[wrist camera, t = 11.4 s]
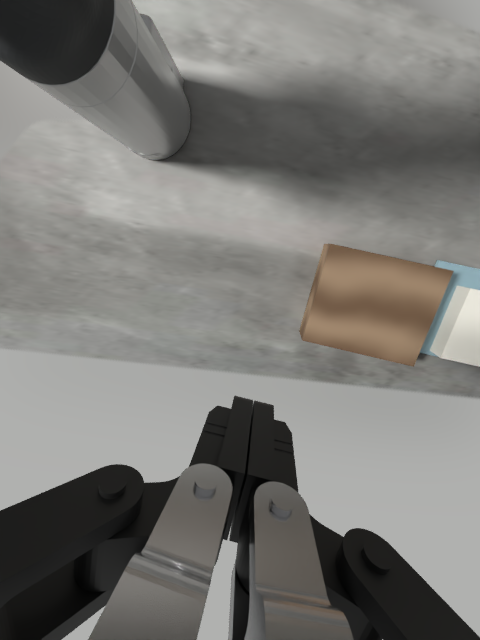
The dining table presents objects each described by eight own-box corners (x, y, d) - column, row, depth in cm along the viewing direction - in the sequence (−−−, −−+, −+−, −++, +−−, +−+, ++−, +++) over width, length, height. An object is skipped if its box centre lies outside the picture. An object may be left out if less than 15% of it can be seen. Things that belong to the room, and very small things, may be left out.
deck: (324, 244, 36) (330, 243, 32) (433, 268, 35) (453, 270, 32) (299, 331, 39) (302, 340, 35) (399, 354, 39) (413, 366, 35)
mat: (436, 260, 35) (438, 260, 35) (534, 281, 35) (537, 281, 34) (402, 347, 38) (403, 348, 38) (490, 368, 38) (492, 369, 38)
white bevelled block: (522, 299, 33) (505, 295, 35) (470, 288, 33) (456, 285, 35) (488, 368, 35) (474, 360, 38) (440, 357, 35) (429, 350, 38)
